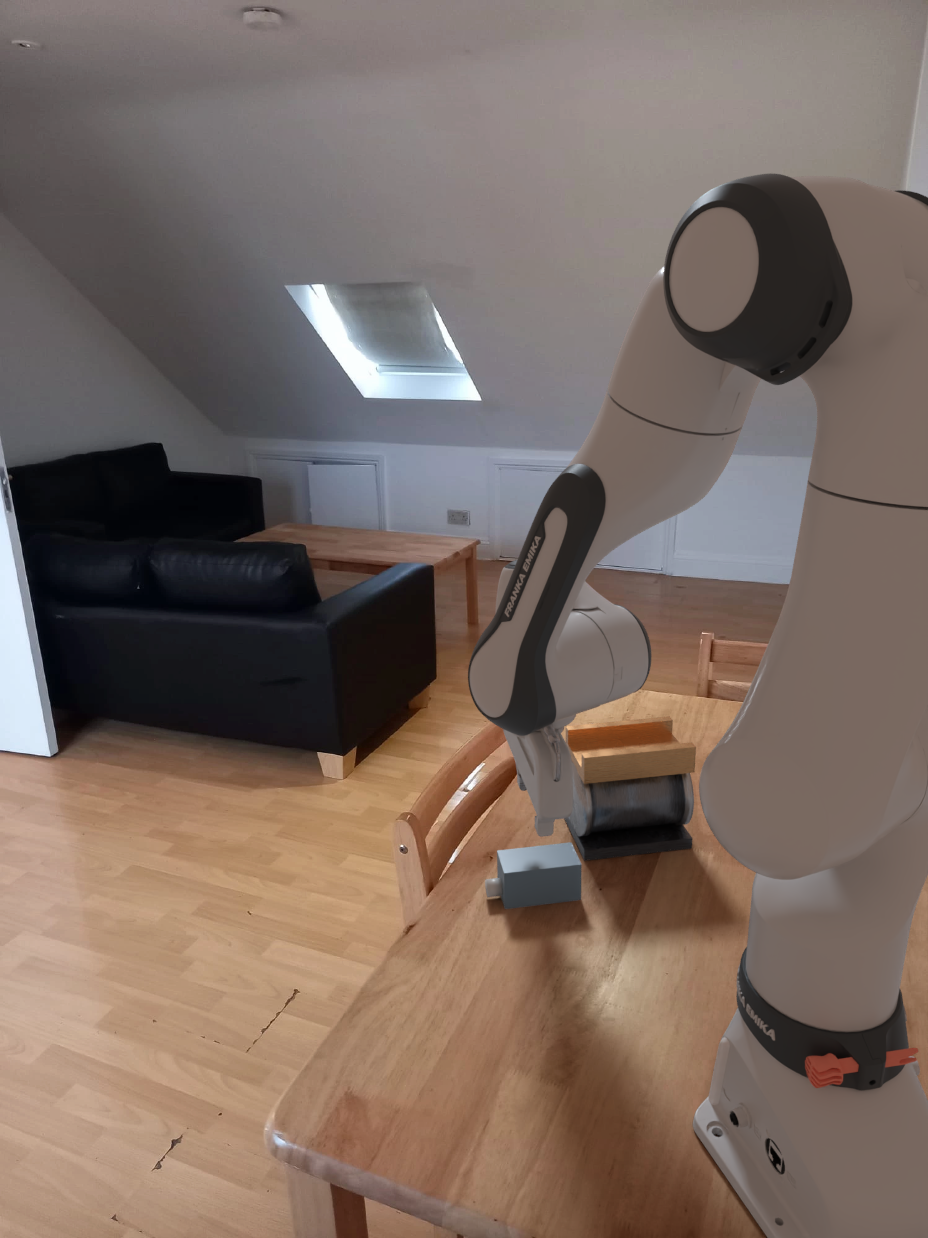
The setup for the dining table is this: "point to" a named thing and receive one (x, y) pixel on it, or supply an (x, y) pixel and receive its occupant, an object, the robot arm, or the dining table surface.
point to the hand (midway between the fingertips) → (534, 809)
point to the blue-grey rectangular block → (536, 876)
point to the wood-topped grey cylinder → (630, 788)
